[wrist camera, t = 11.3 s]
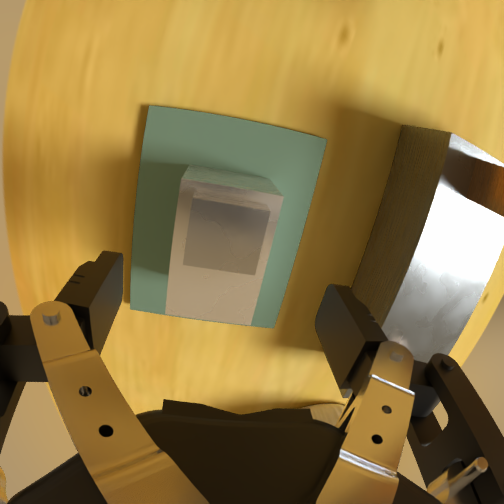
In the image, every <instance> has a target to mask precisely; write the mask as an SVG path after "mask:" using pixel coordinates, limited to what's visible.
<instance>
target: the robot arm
mask: <svg viewBox="0 0 504 504" xmlns="http://www.w3.org/2000/svg"><path fill="white" fill-rule="evenodd" d="M122 295H123V254H122V253H117V252H111V251H105V250H104V251H102V253H101V254H100V255H99V257H98V258H97V260H96V261H95V262H92V261H88V262H86V263H84V264H83V265H81V266H79V267H78V269H77V270H76V271H75V273H74V274H73V276H72V277H71V278H70V279H69V282H67V283H66V285H65V286H64V287H63V289H62V290H61V292H60V293H59V294H58V296H57V297H56V299H55V300H54V301H48V302H44V303H41V304H39V305H37V306H36V307H35V308H34V309H33V310H32V312H31V314H30V315H28V316H13V315H9V313H8V309H7V307H6V305H5V304H4V303H2V302H0V453H1V450H2V447H3V443H4V440H5V437H6V434H7V431H8V428H9V426H10V423H11V420H12V417H13V414H14V412H15V409H16V406H17V404H18V401H19V399H20V396H21V393H22V391H23V389H24V386H25V384H26V382H49V385H50V388H51V391H52V393H53V396H54V399H55V401H56V404H57V406H58V409H59V411H60V414H61V416H62V419H63V421H64V423H65V426H66V428H67V430H68V432H69V434H70V437H71V439H72V441H73V443H74V445H75V447H76V449H77V451H78V453H77V454H76V455H75V456H73V457H72V458H70V459H69V460H67V461H66V462H64V463H63V464H61V465H60V466H58V467H57V468H56V469H54V470H52V471H51V472H49V473H48V474H46V475H45V476H43V477H42V478H40V479H39V480H37V481H36V482H34V483H32V484H31V485H29V486H28V487H26V488H25V489H23V490H22V491H20V492H18V493H17V494H15V495H14V496H13V497H12V498H11V499H10V500H9V501H8V499H7V496H6V478H5V474H4V472H3V470H2V468H1V467H0V504H504V437H503V435H502V434H501V432H500V430H499V428H498V426H497V425H496V423H495V421H494V420H493V418H492V416H491V415H490V413H489V411H488V410H487V408H486V406H485V405H484V403H483V402H482V400H481V398H480V397H479V395H478V394H477V392H476V390H475V389H474V387H473V386H472V384H471V383H470V381H469V380H468V378H467V377H466V375H465V374H464V372H463V371H462V369H461V368H460V366H459V365H458V363H457V362H456V361H455V360H454V359H452V358H451V357H449V356H448V355H445V354H442V353H436V354H434V355H433V356H432V357H431V359H430V360H429V362H428V363H425V362H421V361H416V360H414V357H413V355H412V353H411V352H410V351H409V350H408V349H407V348H406V347H405V346H403V345H402V344H400V343H397V342H394V341H389V340H388V338H387V337H386V335H385V334H384V332H383V331H382V329H381V328H380V326H379V325H378V323H376V320H375V318H374V317H373V316H372V314H371V312H370V311H369V309H368V308H367V306H365V305H364V304H363V303H362V302H361V301H359V300H358V299H357V298H356V297H355V295H354V294H353V292H352V291H351V289H350V288H349V287H348V286H343V285H335V284H330V285H329V286H328V287H327V289H326V292H325V294H324V297H323V300H322V302H321V305H320V308H319V310H318V313H317V315H316V320H315V329H316V332H317V334H318V337H319V339H320V342H321V344H322V347H323V349H324V352H325V354H326V357H327V359H328V362H329V364H330V367H331V369H332V372H333V374H334V377H335V379H336V382H337V385H338V387H339V389H352V391H353V392H352V393H351V395H350V397H349V398H348V400H347V402H346V405H345V407H344V409H343V411H342V413H341V415H340V417H339V419H338V421H337V423H336V425H335V426H333V425H331V424H328V423H326V422H323V421H320V420H316V419H313V417H312V414H311V410H310V408H308V409H272V410H266V411H261V412H255V413H250V414H243V415H240V414H235V413H231V412H227V411H224V410H220V409H217V408H213V407H210V406H206V405H203V404H197V403H188V402H180V401H173V400H166V399H164V400H163V408H162V410H153V411H147V412H144V413H140V414H137V415H135V414H134V413H133V411H132V409H131V408H130V406H129V405H128V403H127V402H126V400H125V398H124V397H123V395H122V394H121V392H120V390H119V389H118V387H117V385H116V384H115V382H114V380H113V378H112V377H111V375H110V373H109V371H108V370H107V368H106V366H105V364H104V362H103V361H102V359H101V357H100V354H101V351H102V349H103V346H104V344H105V341H106V339H107V336H108V334H109V331H110V329H111V326H112V324H113V321H114V319H115V316H116V314H117V312H118V309H119V307H120V304H121V301H122ZM440 401H441V403H442V404H443V406H444V408H445V410H446V412H447V414H448V424H447V426H446V427H445V428H444V430H443V431H442V429H441V427H440V425H439V423H438V421H437V419H436V417H435V415H434V413H433V409H434V408H435V407H436V406H437V405H438V403H439V402H440ZM406 436H407V439H408V441H409V444H410V446H411V449H412V451H413V454H414V456H415V458H416V461H417V464H418V467H419V469H420V472H421V475H422V477H423V480H424V482H425V485H426V488H427V492H426V491H425V490H423V489H422V488H420V487H419V486H417V485H416V484H415V483H413V482H412V481H410V480H409V479H407V478H406V477H404V476H403V475H401V474H400V473H399V472H397V469H398V465H399V462H400V458H401V454H402V451H403V447H404V443H405V439H406Z"/></svg>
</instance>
